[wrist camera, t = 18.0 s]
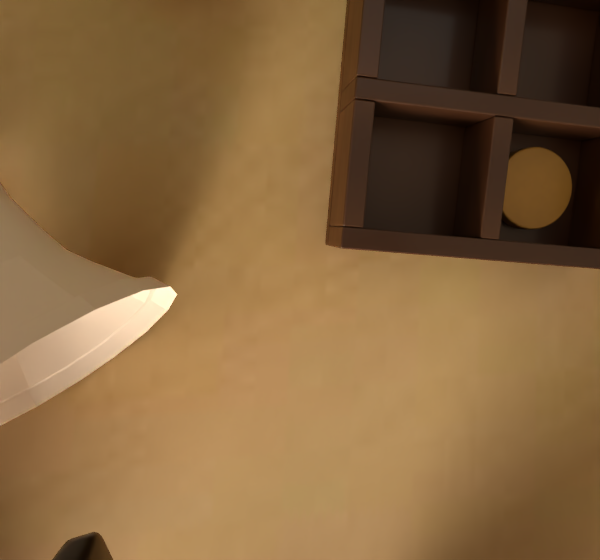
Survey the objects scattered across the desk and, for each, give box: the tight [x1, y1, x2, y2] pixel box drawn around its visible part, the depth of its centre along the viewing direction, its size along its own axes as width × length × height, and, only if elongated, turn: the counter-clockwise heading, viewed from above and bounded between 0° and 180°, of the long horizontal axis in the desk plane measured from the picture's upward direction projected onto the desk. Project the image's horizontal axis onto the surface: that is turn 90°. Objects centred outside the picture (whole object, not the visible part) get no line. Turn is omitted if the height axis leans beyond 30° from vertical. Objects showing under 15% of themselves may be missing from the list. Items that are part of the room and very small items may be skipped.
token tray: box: [326, 0, 600, 269], centre depth 18 cm, size 15×10×3 cm
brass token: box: [502, 147, 572, 229], centre depth 20 cm, size 3×3×1 cm
